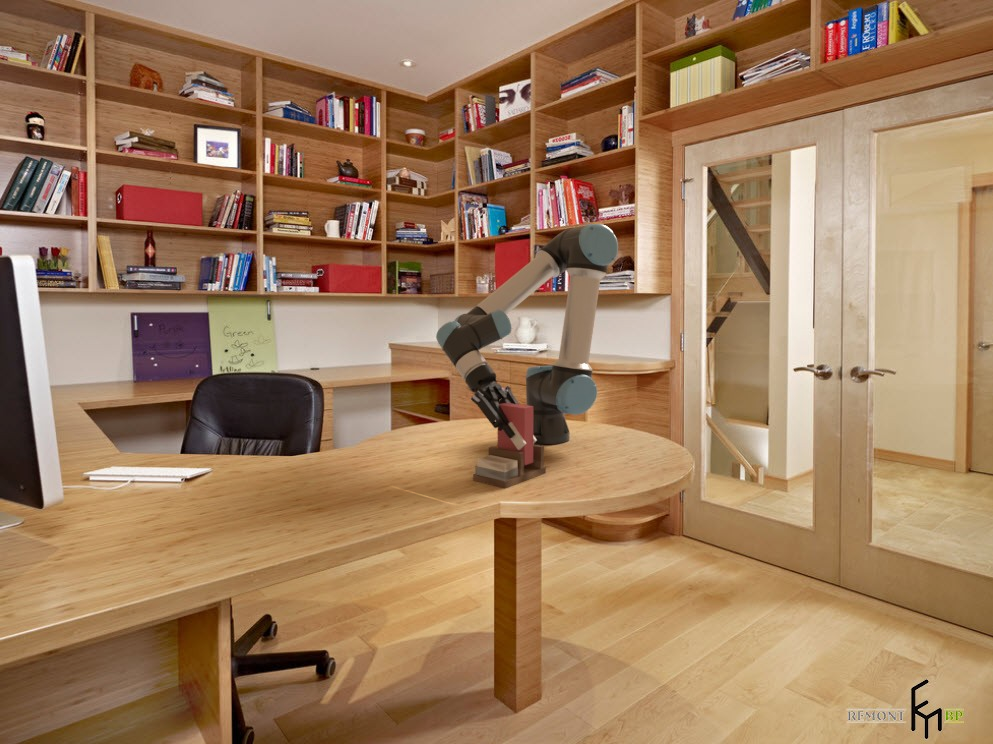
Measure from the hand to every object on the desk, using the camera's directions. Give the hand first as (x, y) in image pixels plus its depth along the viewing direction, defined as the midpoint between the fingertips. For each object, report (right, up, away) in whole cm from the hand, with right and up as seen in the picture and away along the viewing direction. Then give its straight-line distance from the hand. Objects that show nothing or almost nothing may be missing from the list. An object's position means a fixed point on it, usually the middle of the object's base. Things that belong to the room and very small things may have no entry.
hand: (527, 445), depth 151 cm
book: (-3, -4, +3) cm, 6 cm away
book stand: (-4, -8, +2) cm, 9 cm away
